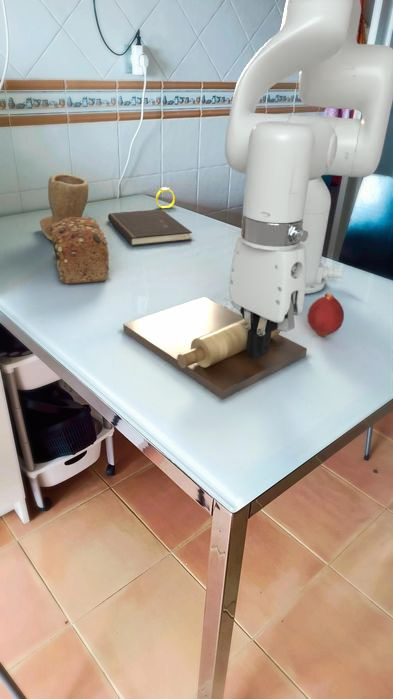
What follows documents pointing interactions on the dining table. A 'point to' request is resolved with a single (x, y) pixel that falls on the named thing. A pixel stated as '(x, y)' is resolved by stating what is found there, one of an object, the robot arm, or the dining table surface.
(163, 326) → the pastry board
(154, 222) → the hardcover book
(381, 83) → the robot arm
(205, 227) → the dining table surface
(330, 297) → the onion
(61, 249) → the bread
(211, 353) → the rolling pin
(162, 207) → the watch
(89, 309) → the dining table surface
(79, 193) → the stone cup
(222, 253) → the dining table surface
